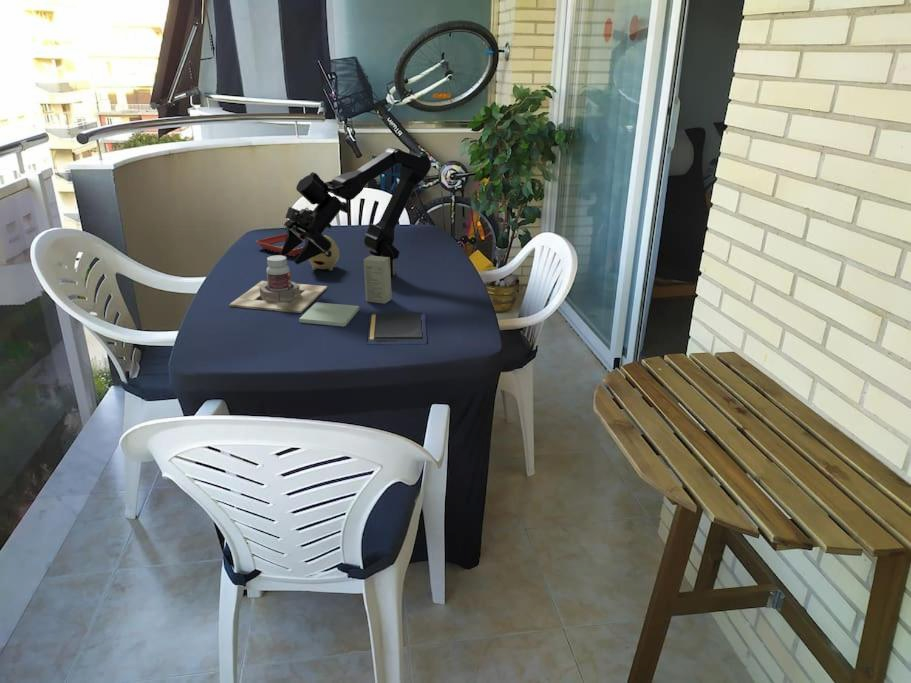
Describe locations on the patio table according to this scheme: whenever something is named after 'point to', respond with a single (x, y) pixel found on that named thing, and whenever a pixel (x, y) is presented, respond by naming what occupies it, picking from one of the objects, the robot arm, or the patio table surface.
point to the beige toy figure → (326, 257)
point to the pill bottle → (278, 274)
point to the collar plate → (279, 297)
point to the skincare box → (377, 279)
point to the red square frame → (269, 242)
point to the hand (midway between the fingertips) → (288, 259)
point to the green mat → (329, 314)
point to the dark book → (395, 326)
